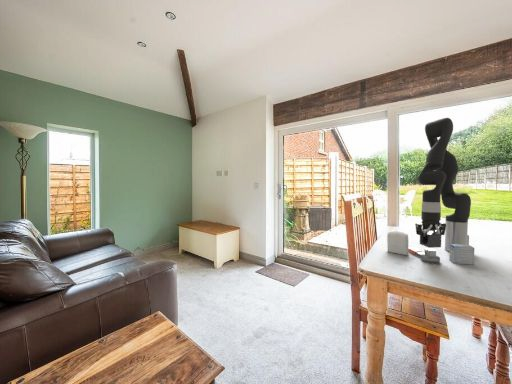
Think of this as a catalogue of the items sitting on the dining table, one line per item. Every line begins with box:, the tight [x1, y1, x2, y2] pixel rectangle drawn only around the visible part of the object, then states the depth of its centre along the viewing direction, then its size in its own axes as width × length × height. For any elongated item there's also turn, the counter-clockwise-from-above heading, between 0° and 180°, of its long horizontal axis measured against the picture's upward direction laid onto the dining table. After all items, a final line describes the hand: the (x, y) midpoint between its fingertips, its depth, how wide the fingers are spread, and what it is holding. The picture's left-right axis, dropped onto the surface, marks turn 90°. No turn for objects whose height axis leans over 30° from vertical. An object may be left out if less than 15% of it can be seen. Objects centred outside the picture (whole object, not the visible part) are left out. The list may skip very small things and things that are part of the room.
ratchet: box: [408, 247, 441, 265], centre depth 115 cm, size 8×18×6 cm, turn 0°
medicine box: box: [448, 244, 475, 265], centre depth 106 cm, size 8×4×9 cm, turn 71°
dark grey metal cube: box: [419, 231, 442, 249], centre depth 109 cm, size 6×6×6 cm
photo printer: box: [386, 230, 409, 256], centre depth 122 cm, size 10×4×12 cm, turn 39°
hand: (430, 243), depth 109 cm, fingers closed on dark grey metal cube, 6 cm apart
